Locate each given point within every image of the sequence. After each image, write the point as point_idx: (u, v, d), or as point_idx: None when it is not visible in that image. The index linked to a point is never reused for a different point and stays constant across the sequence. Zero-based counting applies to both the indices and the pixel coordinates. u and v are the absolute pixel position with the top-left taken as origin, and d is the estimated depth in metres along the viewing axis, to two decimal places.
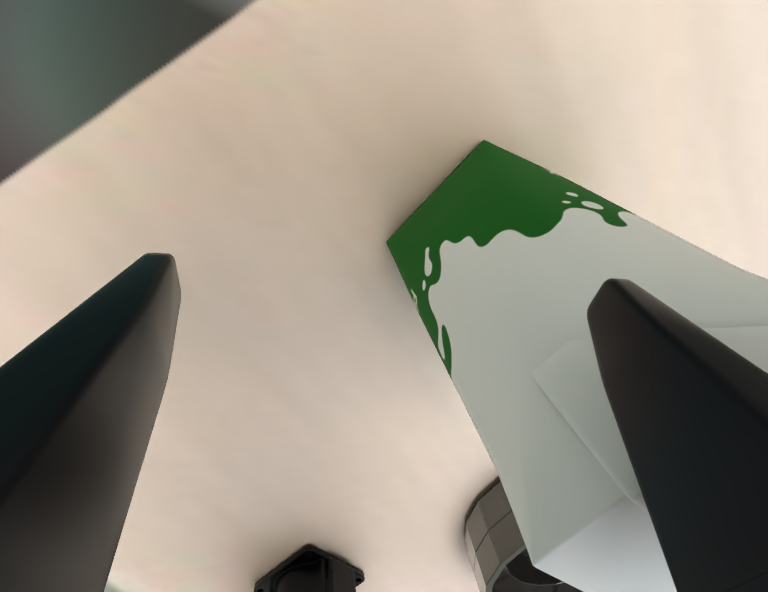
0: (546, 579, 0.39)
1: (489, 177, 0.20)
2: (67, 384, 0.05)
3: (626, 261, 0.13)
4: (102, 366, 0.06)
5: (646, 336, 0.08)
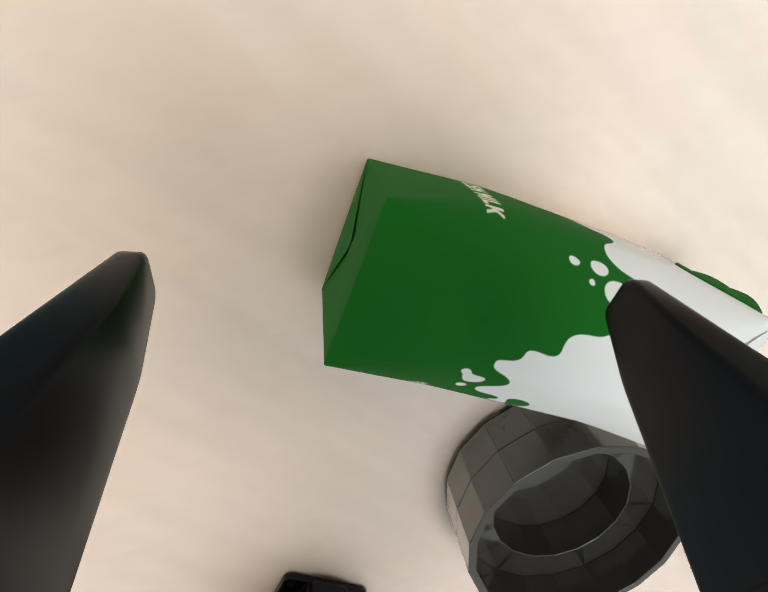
0: (565, 545, 0.33)
1: (495, 281, 0.17)
2: (24, 384, 0.05)
3: None
4: (63, 366, 0.06)
5: (668, 337, 0.08)
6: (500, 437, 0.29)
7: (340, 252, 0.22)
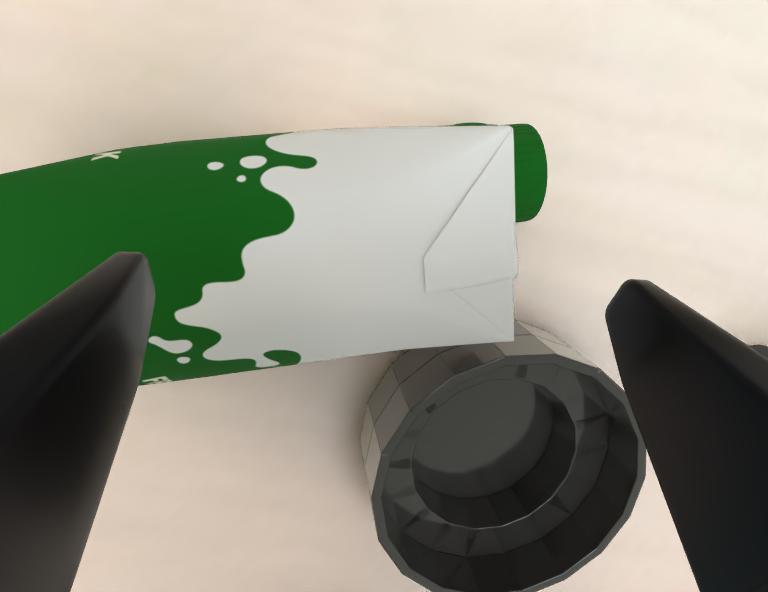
0: (537, 500, 0.28)
1: (105, 223, 0.15)
2: (24, 383, 0.05)
3: (384, 186, 0.16)
4: (63, 365, 0.06)
5: (668, 337, 0.08)
6: (376, 408, 0.25)
7: None
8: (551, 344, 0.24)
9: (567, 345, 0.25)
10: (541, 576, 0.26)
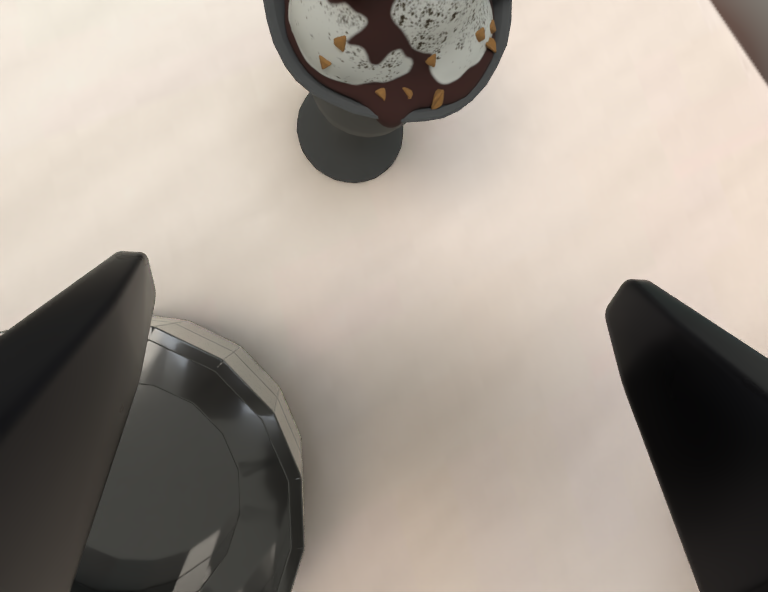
0: None
1: None
2: (24, 384, 0.05)
3: None
4: (63, 366, 0.06)
5: (668, 337, 0.08)
6: None
7: None
8: None
9: None
10: (280, 573, 0.17)
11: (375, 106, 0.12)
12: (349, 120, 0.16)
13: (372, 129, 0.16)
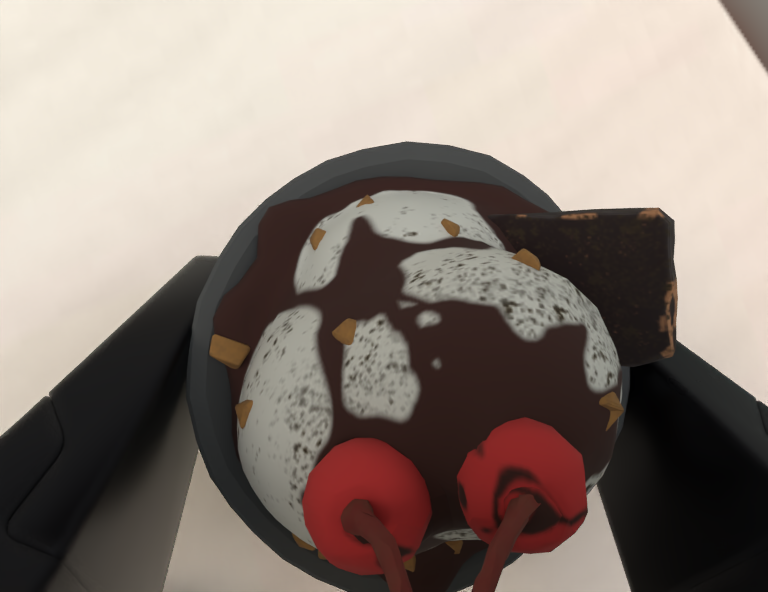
0: None
1: None
2: (142, 385, 0.05)
3: None
4: (171, 367, 0.06)
5: None
6: None
7: None
8: None
9: None
10: None
11: None
12: None
13: None
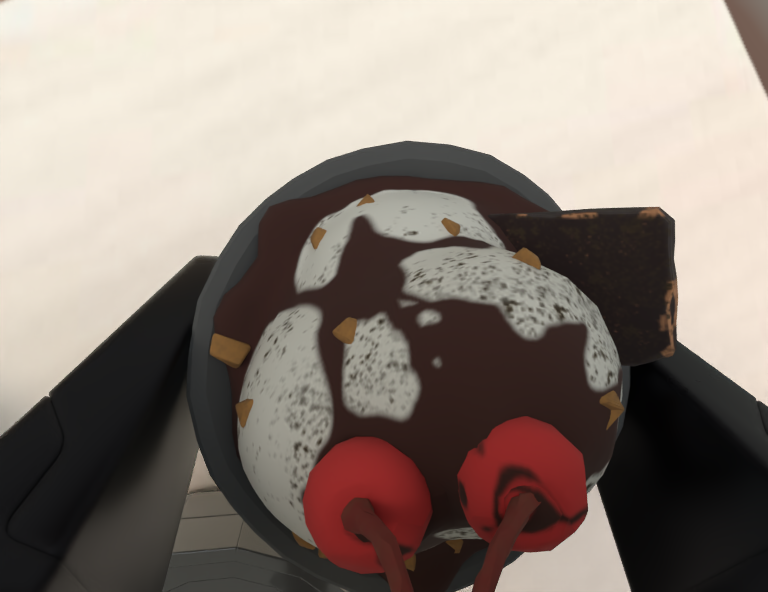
0: None
1: None
2: (142, 385, 0.05)
3: None
4: (171, 367, 0.06)
5: None
6: None
7: None
8: None
9: None
10: None
11: None
12: None
13: None
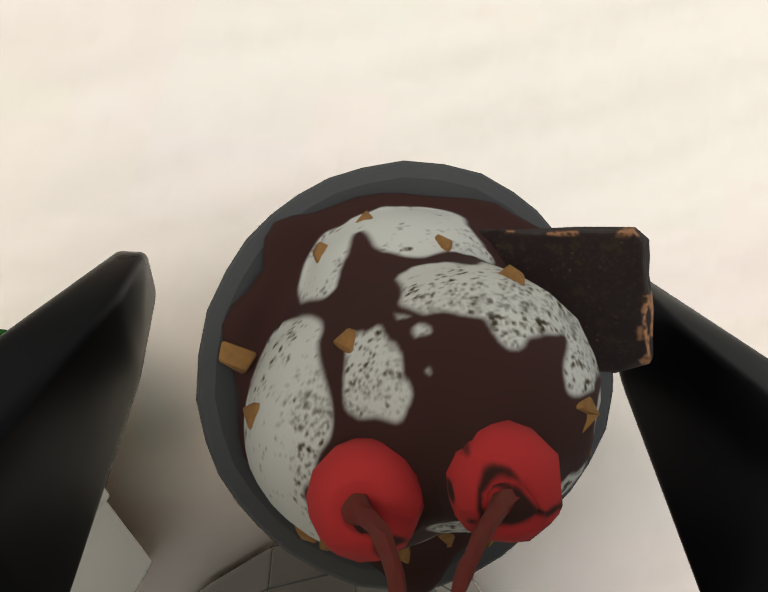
0: None
1: None
2: (24, 384, 0.05)
3: None
4: (63, 365, 0.06)
5: (668, 337, 0.08)
6: None
7: None
8: None
9: None
10: None
11: None
12: None
13: None
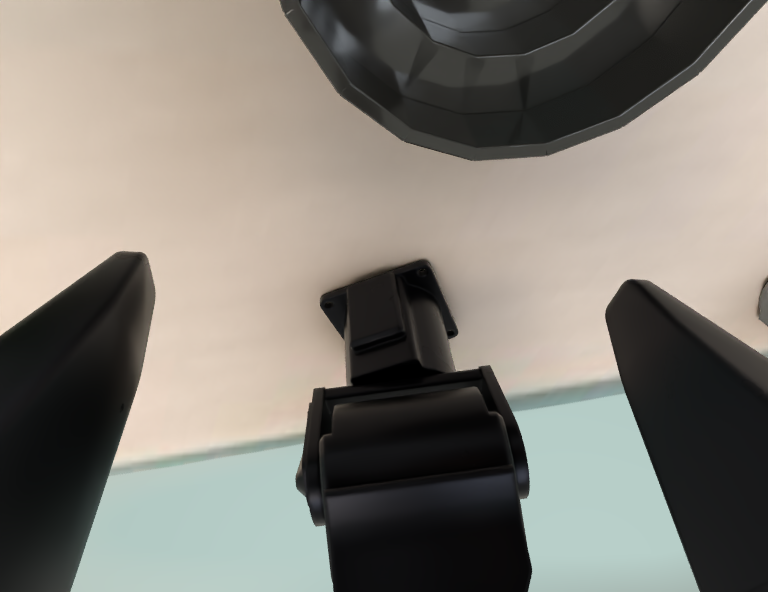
0: None
1: None
2: (24, 384, 0.05)
3: None
4: (62, 366, 0.06)
5: (668, 337, 0.08)
6: None
7: None
8: None
9: None
10: (653, 83, 0.15)
11: None
12: None
13: None
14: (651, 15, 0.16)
